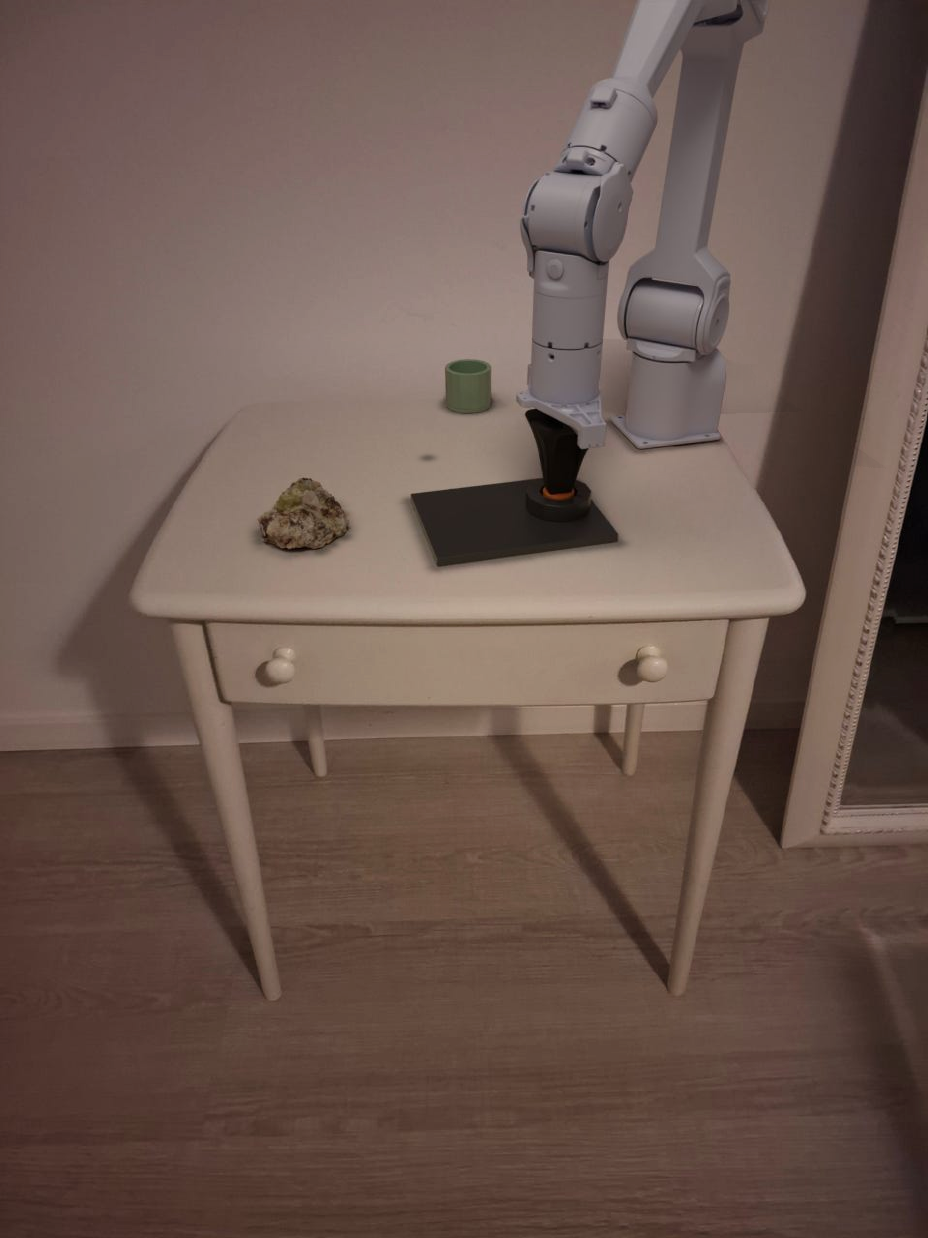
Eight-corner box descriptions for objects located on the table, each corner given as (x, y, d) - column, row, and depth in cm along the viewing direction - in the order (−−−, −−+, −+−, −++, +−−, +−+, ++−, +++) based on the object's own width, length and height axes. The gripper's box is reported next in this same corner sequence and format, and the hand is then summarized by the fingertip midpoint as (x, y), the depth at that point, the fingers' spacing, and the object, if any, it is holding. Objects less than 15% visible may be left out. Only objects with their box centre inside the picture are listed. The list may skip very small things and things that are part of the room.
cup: (484, 394, 104) (484, 357, 101) (495, 410, 100) (496, 372, 97) (441, 398, 103) (440, 361, 100) (451, 415, 99) (450, 376, 96)
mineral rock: (347, 531, 73) (251, 509, 71) (338, 574, 75) (245, 554, 74) (359, 477, 82) (274, 457, 80) (350, 517, 84) (267, 498, 83)
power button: (567, 496, 80) (568, 481, 79) (577, 510, 78) (578, 495, 77) (538, 500, 80) (539, 485, 79) (547, 514, 77) (548, 499, 76)
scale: (571, 482, 85) (573, 458, 83) (617, 542, 75) (620, 517, 74) (410, 502, 82) (409, 477, 80) (437, 567, 72) (436, 541, 71)
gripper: (495, 317, 75) (494, 461, 83) (547, 373, 63) (540, 535, 71) (573, 310, 76) (564, 453, 84) (638, 365, 65) (621, 524, 73)
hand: (558, 490), depth 78 cm, fingers closed, pressing on power button
